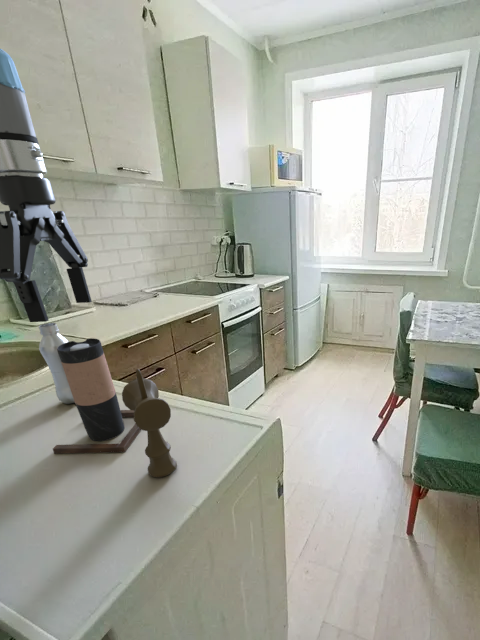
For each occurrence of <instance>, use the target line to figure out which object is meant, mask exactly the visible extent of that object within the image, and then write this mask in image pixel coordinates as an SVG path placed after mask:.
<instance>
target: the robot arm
mask: <svg viewBox="0 0 480 640" xmlns="http://www.w3.org/2000/svg"><path fill="white" fill-rule="evenodd" d="M29 108H30V107H29V105H28V100H27V97H26V90H25V89H24V87H23V85H22V82H21V79H20V76H19V73H18V70H17V67H16V64H15V62H14V60H13V58H12V56H11V55H10V54H9V53H8V52H6V51H5V50H4V49H2V48H0V203H1V205H3V206H6V207H7V206H8V209H9V210H0V280H5V282H7V283H13V284H14V287H15V290H16V293H17V295H18V299H19V301H20V302H21V303H22V304H23V308H24V310H25V312H26V315H27V318H28V320H29V323H46V322H49V317H48V314H47V311H46V308H45V306H44V302H43V299H42V296H41V294H40V291H39V287H38V284H37V282H36V280H35V279H33V280H32V279H31V275H32V270H33V265H34V260H35V254H36V249H37V246H38V245H39V244H40V243H41V242H45V243H47V244H48V245H49V246H50V247H51V248H52V249H53V250H54V251H55V252H56V253H57V254H58V256H59V257H60V258H61V259H62V261H63V262H64V263H65V264H66V265H67V266H68V268H66V272H67V276H68V279H69V282H70V283H69V284H70V286H71V289H72V292H73V296H74V299H75V302H76V304H87V303H89V304H90V303H92V298H91V294H90V290H89V288H88V283H87V279H86V276H85V272H84V269H83V268H88V264H89V263H88V262H89V259H88V256H87V255H86V253H85V251H84V249H83V247H82V245H81V244H80V243H79V240H78V239H77V237H76V235H75V234H74V231H73V230H72V228H71V226H70V224H69V221H68V219H67V216H66V214H65V212H64V211H63V210H52V209H51V206H53V205H55V204H56V201H57V200H56V196H55V194H54V191H53V187H52V184H51V181H50V180H49V179H48V178H47V177H45V176H46V175H47V174H48V170H47V167H46V165H45V161H44V158H43V156H44V155H43V152H42V151H41V148H40V143H39V140H38V137H37V134H36V131H35V127H34V124H33V121H32V120H33V119H32V116H31V113H30V109H29Z"/></svg>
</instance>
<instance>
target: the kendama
mask: <svg viewBox="0 0 480 640" xmlns="http://www.w3.org/2000/svg"><path fill="white" fill-rule="evenodd" d="M135 375H136V379H133V380H131V381H129V382H128V383H126V385H124V386H123V389H122V392H121V398H122V399H121V400H122V402H123V405H124V407H126V408H127V409H128V410H134V417H133V421H134V424H135V423H136V425H137V426H138V427H139V428H140V429H141V431H143V432H147V433H146V434H147V446H146V447H145V449H144V453H145V456H146V457H148V459H149V464H148V465H147V474H149V475H150V476H151V477H153V478H163V477H166V476H168V475H171V474H172V473H173V472H174V471H176V470H177V467H178V463H177V460H176V459H175V458H173V457H172V456H171V453H170V451H171V448H172V447H171V444H170V443H169V442H168V441H166V440H165V438H164V437H163V434H162V432H161V430H160V429H162V428H164V427H165V426H166V425H167V424H168V423H169V422H170V418H171V415H172V413H171V412H172V411H171V410H172V409H171V407H170V405H169V403H168V402H167V401H166V400H165V399H163V398H161V397H160V398H159V396H160V395H159V394H160V393H159V388H158V386H157V384H156V383H155V382H154V381H153V380H151V379H148V378H144V377H143V375H142V372H141V370H140V369H139V368H137V369H135Z"/></svg>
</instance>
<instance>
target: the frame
mask: <svg viewBox="0 0 480 640" xmlns="http://www.w3.org/2000/svg"><path fill="white" fill-rule="evenodd" d="M120 411H121V415H122V418H134V410H130V409H120ZM141 431H142V429H140V428H139V427H138V426H137V425H136V423H135V422H134V425H132V427H131V428H130V430H129V431H128V432H127V433H126V435H125V436H124V438H122V440H121V442H119V443H116V442H115V443H80V444H79V443H78V444H74V443H73V444H56V445H55V446H54V447H53V448H52V453H54V454H55V455H56V454H59V455H61V454H97V453H98V454H99V453H100V454H101V453H102V454H103V453H104V454H105V453H107V454H108V453H126V452H127V450H128V449H129V447H130V446H131V445H132V443H133V442H134V441H135V439H136V438H137V436H138V435H139V434H140V433H141Z"/></svg>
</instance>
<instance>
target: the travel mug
mask: <svg viewBox="0 0 480 640" xmlns="http://www.w3.org/2000/svg"><path fill="white" fill-rule="evenodd" d="M57 351H58V354H59V357H60V360H61V363H62V366H63V369H64V372H65V375H66V378H67V381H68V384H69V387H70V390H71V392H72V395H73V398H74V401H75V403H74V404H75V406H76V409H77V412H78V413H79V417H80V419H81V422H82V424H83V427H84V429H85V431H86V434H87V436H88V438H89V440H91V441H93V442H104V441H109V440H112V439H115V438H117V437H118V436H120V435H121V434H122V433H123V432H124V430H125V423H124V419H123V417H122V415H121V411H120V410H121V408H120V407H121V406H120V403H119V399H118V395H117V392H116V388H115V384H114V382H113V379H112V378H113V377H112V374H111V372H110V368H109V365H108V361H107V358H106V356H105V352H104V348H103V346H102V342H101V340H100V339H99V338H95V337H94V338H93V337H90V338H87V339H86V340H84V341H79V342H78V341H74V340H71V341H70V340H69V342H67V343H64V344H62V345H60V346H59V347H58V348H57Z"/></svg>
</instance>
